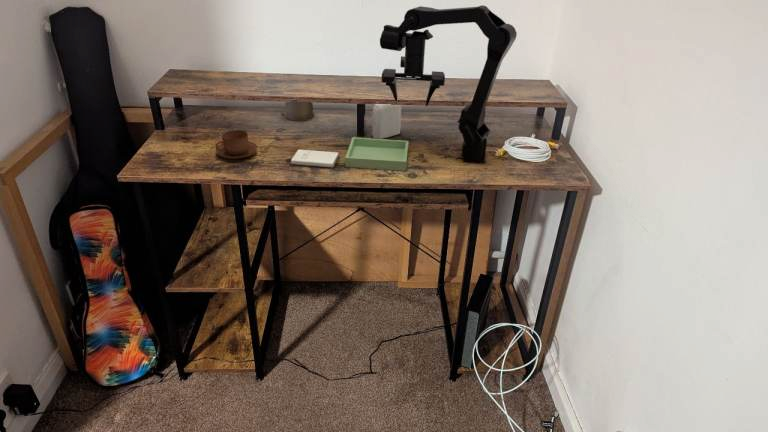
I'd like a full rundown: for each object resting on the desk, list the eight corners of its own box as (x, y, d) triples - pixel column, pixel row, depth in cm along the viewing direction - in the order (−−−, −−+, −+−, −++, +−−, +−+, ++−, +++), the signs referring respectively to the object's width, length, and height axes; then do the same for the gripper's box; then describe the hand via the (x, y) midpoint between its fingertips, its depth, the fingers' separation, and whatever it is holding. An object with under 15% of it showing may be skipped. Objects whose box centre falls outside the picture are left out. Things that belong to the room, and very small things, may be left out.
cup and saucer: (237, 166, 147) (234, 146, 144) (207, 156, 152) (204, 136, 149) (266, 152, 156) (264, 133, 153) (237, 143, 161) (234, 124, 158)
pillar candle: (318, 114, 186) (316, 73, 178) (304, 123, 178) (302, 80, 170) (294, 110, 189) (292, 69, 181) (280, 118, 181) (277, 76, 173)
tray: (408, 149, 161) (408, 140, 160) (405, 170, 148) (406, 161, 146) (352, 145, 162) (352, 137, 161) (345, 166, 149) (345, 157, 147)
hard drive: (333, 168, 148) (291, 164, 149) (339, 156, 155) (298, 153, 156) (333, 163, 147) (290, 159, 148) (339, 151, 154) (298, 148, 155)
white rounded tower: (378, 141, 166) (379, 104, 160) (370, 136, 169) (370, 100, 163) (402, 134, 172) (404, 98, 166) (393, 130, 175) (395, 94, 169)
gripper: (446, 48, 157) (441, 98, 165) (385, 45, 158) (383, 95, 166) (447, 57, 147) (442, 110, 155) (382, 54, 148) (380, 106, 156)
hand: (411, 104), depth 158 cm, fingers open, 9 cm apart
